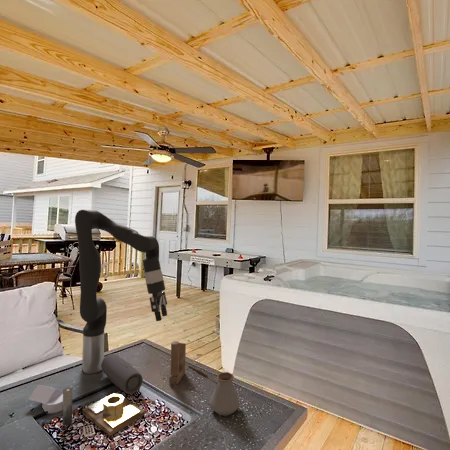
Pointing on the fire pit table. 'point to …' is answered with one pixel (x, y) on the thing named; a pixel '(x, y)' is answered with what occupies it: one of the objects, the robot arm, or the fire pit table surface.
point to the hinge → (114, 410)
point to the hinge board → (100, 417)
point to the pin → (67, 406)
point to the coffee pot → (222, 393)
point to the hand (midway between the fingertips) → (162, 318)
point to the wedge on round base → (48, 398)
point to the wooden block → (177, 362)
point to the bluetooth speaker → (122, 373)
